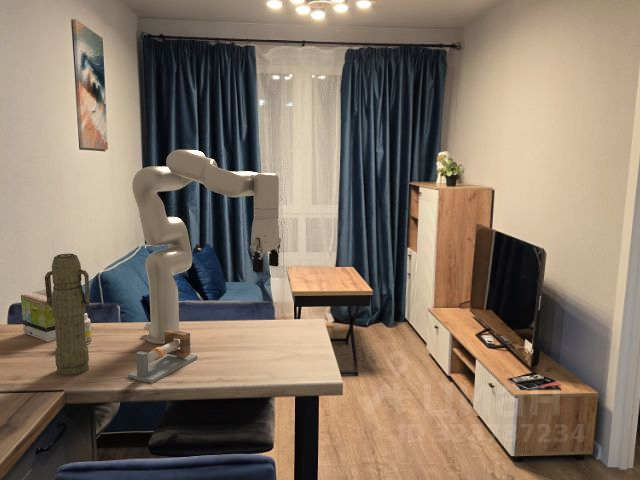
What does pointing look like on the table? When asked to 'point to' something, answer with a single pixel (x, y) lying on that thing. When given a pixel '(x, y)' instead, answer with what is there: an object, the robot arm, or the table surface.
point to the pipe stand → (159, 362)
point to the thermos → (69, 313)
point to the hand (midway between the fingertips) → (266, 268)
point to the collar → (184, 342)
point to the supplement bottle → (87, 329)
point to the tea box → (38, 316)
